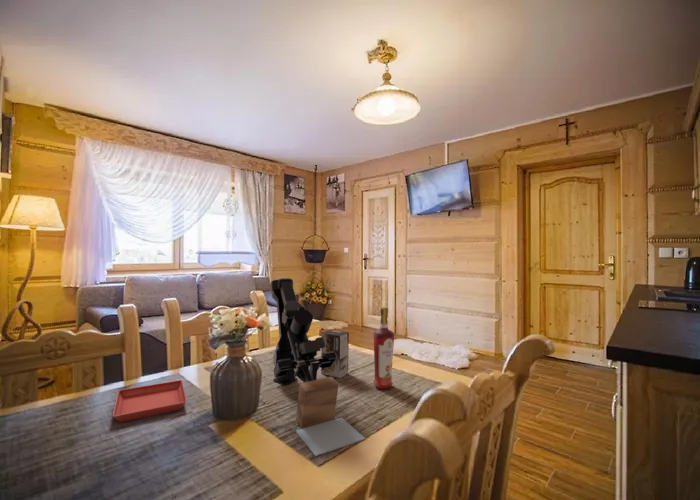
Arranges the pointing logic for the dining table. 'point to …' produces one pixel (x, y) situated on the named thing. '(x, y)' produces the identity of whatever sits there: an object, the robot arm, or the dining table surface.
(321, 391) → the walnut block
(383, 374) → the liquor
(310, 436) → the mat
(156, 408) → the plant saucer
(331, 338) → the coffee box
